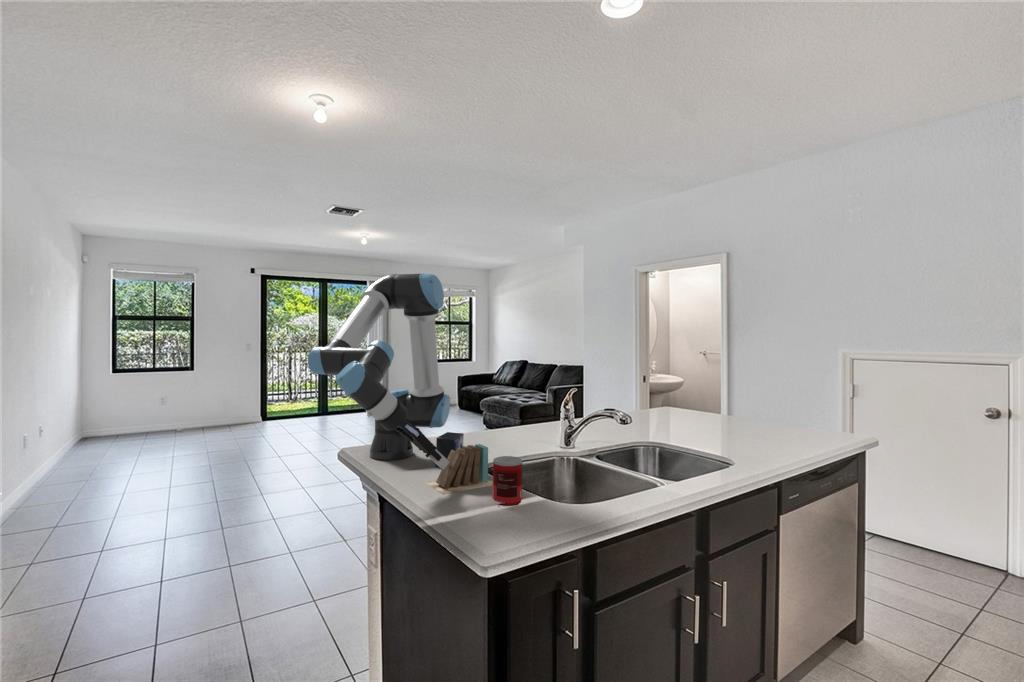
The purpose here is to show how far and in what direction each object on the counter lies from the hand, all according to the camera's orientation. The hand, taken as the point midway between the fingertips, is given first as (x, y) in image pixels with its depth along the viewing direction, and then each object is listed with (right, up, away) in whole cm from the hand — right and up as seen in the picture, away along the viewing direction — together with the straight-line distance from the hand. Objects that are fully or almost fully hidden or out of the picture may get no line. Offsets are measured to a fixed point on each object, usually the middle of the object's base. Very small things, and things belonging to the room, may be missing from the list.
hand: (445, 465), depth 137 cm
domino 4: (+7, -6, +5) cm, 10 cm away
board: (+4, -7, +3) cm, 9 cm away
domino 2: (+2, -6, +1) cm, 6 cm away
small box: (-2, -7, +24) cm, 25 cm away
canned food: (+17, -7, -9) cm, 21 cm away
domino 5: (+10, -6, +7) cm, 13 cm away
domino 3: (+4, -6, +3) cm, 8 cm away
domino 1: (-1, -6, 0) cm, 6 cm away
